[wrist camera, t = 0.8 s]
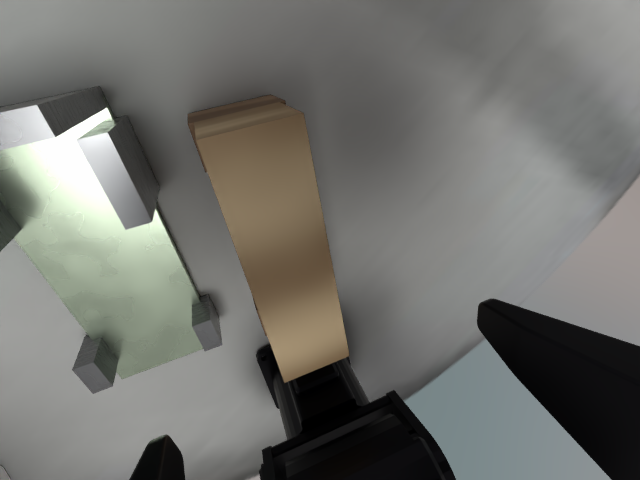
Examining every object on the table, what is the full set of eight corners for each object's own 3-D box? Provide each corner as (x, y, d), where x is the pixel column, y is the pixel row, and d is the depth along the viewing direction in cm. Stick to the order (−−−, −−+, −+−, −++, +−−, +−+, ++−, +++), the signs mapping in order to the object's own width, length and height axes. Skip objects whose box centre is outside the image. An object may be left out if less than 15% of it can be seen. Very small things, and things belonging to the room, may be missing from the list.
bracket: (226, 334, 22) (240, 432, 16) (114, 376, 21) (85, 500, 15) (112, 83, 14) (58, 100, 8) (-82, 123, 13) (-309, 177, 7)
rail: (326, 312, 20) (349, 355, 17) (270, 334, 19) (284, 383, 16) (279, 102, 14) (303, 113, 11) (194, 122, 13) (195, 140, 10)
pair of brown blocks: (314, 283, 23) (329, 311, 20) (257, 304, 22) (265, 336, 19) (270, 94, 16) (284, 100, 14) (187, 114, 16) (187, 123, 13)
